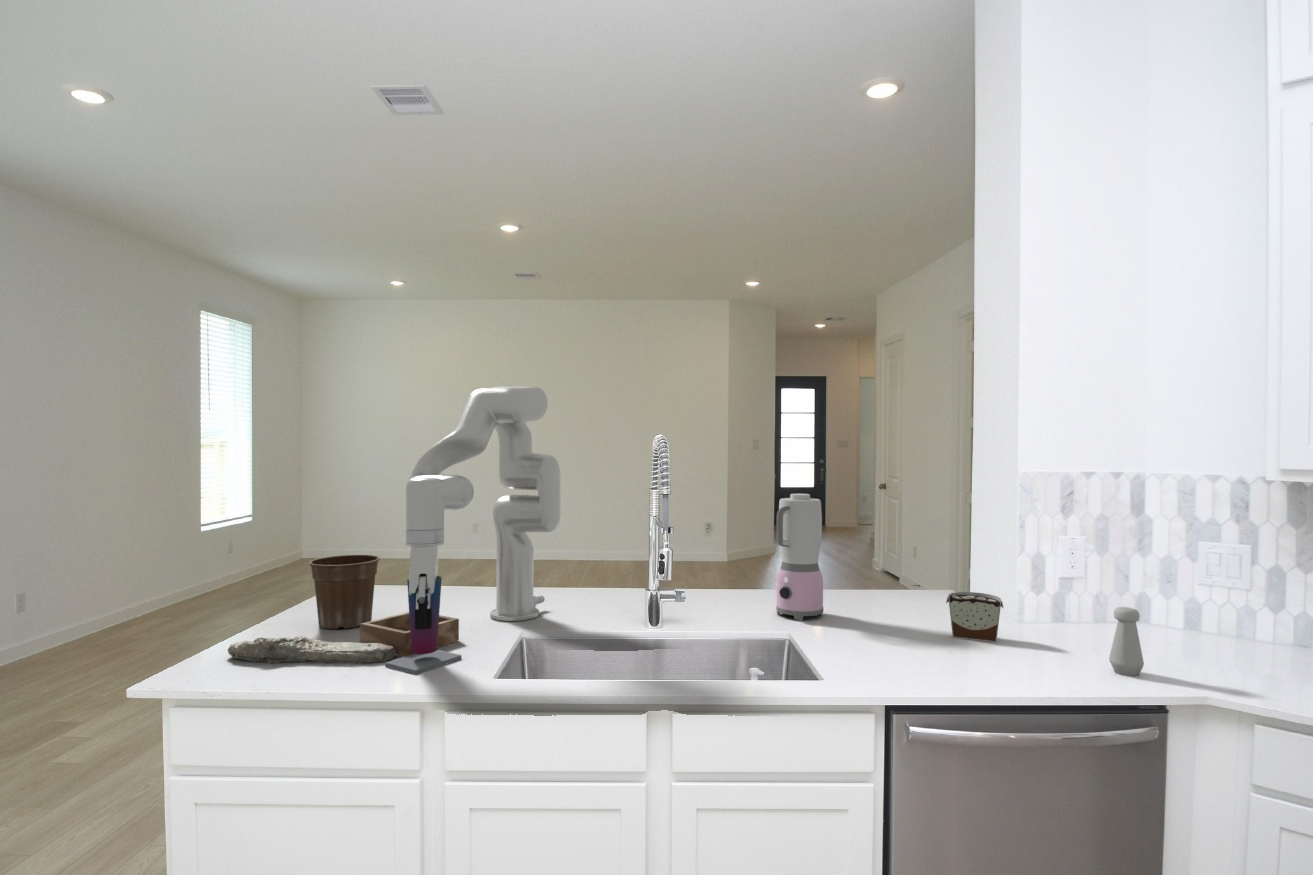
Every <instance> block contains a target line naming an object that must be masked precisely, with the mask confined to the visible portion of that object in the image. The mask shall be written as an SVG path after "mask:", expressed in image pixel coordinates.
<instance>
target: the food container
mask: <svg viewBox="0 0 1313 875" xmlns="http://www.w3.org/2000/svg"><path fill="white" fill-rule="evenodd" d="M945 604H948V606H949V607H948V608H949V614H950V615H949V616H950V625H951V634H952V638H953V637H954V639H962V638H963V640H972V641H979V642H980V641H981V642H990V643H997V640H998V633H999V632H998V631H999V622H1000V617H1001V616H1000V615H1001V608H1002V609H1005V608H1004V604H1003V600H1002V598H1001V597H1000V596H997V595H993V594H991V593H989V594H988V593H984V592H983V593H982V592H975V591H974V592H973V591H972V592H971V591H954V592H951V593H948V596H947V597H946V602H945Z"/></svg>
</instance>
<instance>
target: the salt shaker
mask: <svg viewBox="0 0 1313 875" xmlns="http://www.w3.org/2000/svg"><path fill="white" fill-rule="evenodd" d="M1113 617H1114V619H1115V620H1117V625H1116V627H1115V632H1114V637H1113V641H1112V645H1111V649H1110V654H1109V657H1108V659H1109V663H1110V664H1111V666H1112V668H1113V672H1114V673H1115V674H1118V675H1121V676H1124V677H1133V678H1134V677H1137V676H1139V675H1140V673H1141V671H1143V668H1144V665H1145V663H1144V658H1143V657H1144V656H1143V652H1142V647H1141V641H1140V637H1139V631H1138V627H1137V622H1139V620H1140V617H1141V616H1140V613H1139V611H1138V610H1137V609H1135V608H1133V607H1128V606H1127V607H1126V606H1119V607H1116V608H1114V610H1113Z"/></svg>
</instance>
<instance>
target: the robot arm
mask: <svg viewBox="0 0 1313 875" xmlns="http://www.w3.org/2000/svg"><path fill="white" fill-rule="evenodd" d="M548 403H549V402H548V396H547V394H546V393H545V391H544V390H543V389H542V388H541V387H539V386H535V385H534V386H533V385H532V386H528V385H527V386H495V387H481V388H478V389H475V390H473V391H472V392H470V394H469V395H468V397H467V398H466V401H465V403H464V404H463V407H462V409H461V411H460V414H459V415H458V417H457V420H456V422H455V424H454V426H453V428H452V431H451V432H450V434H448V435H447V436H445V437H444V438H442V439H441V440H439V441H438V442H436V443H435V444H434V445H432V446H431V447H430V448H429V449H427V450H426V451H425V452H424V453H423V454H422V455H421V456H420V457H419V458H418V460H417V462H416V463H415V465H414V467H413V469H412V471H411V473H410V475H409V478H408V480H407V481H406V486H405V487H406V488H405V546H407V547H410V552H409V553H410V555H409V575H408V576H409V577H408V578H409V594H410V595H413V594H412V593H415V591H416V609H415V629H430V628H431V627H432V608H430V602H431V594H433V593H434V589H435V581H436V580H437V576H438V571H439V570H438V569H439V568H438V567H439V563H438V562H439V559H438V558H439V546H442V545H444V544H445V541H444V540H445V510H447V511H451V510H452V511H457V510H461V509H464V508H466V507H467V506H469V505H470V503H471V502H472V500H473V498H474V492H475V491H474V486H473V483H472V482H471V481H470V479H468V478H467V477H466V476H464V475H459V474H441V473H443V472H444V471H445V470H447V469H448V468H450V467H452V466H454V465H457V464H459V463H463V462H465V461H468V460H470V459H473V458H475V457H477V456H479V455H481V454H482V453H484V451H485V450H486V448H487V447H488V444H489V441H490V439H491V437H492V435H493V432H494V430H496V433H497V436H498V437H497V438H498V474H499V475H498V478H499V482H500V484H501V486H502V487H503V488H505V489H509V490H522V491H524V490H526V491H537V493H538V495H535V494H534V495H533V494H532V495H531V494H506V495H502V496H500V497H499V498H498V499H496V501H495V502H494V504H493V508H492V518H493V524H494V529H495V540H496V596H495V598H496V600H495V601H496V604H495V607H496V608H495V609H493V610H492V609H491V611H490V613H489V616H490V618H491V619H493V620H496V621H501V620H502V622H503V621H505V622H518V621H520V622H521V621H526V620H532V619H535V618H537V617H539V615H540V610H539V608H537V607H536V606H537V605H538V604H542V603H544V602H545V600H546V599H545V597H544V595H542V594H541V595H538V596H536V595H534V572H535V571H534V562H535V561H534V560H535V559H534V558H535V556H534V549H535V548H534V544H533V542H532V540H531V539H530V536H529V535H528V533H553V531H555V530H556V529H557V528H558V526H559V524H560V520H561V518H560V517H561V470H560V469H561V468H560V465H559V462H558V460H557V458H556V457H555V456H554V455H552V454H550V453H549V454H548V453H533V452H534V451H533V444H532V442H533V439H532V432H531V430H530V428H529V426H528V425H527V423H529V422H534V421H539V420H541V419H542V418H543V417H544V416H545V415H546V413H547V409H548V406H549V405H548ZM426 578H427V584H426ZM418 585H419V593H418V587H417V586H418ZM428 587H429V593H426V589H428ZM425 597H428V599H427V598H425ZM427 600H428V601H427Z"/></svg>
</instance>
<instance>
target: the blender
mask: <svg viewBox="0 0 1313 875" xmlns="http://www.w3.org/2000/svg"><path fill="white" fill-rule="evenodd" d="M778 503H779V504H778V510H777V512H776V544H778V546H779V551H780V555H781V565H780V567H779V570H778V572H777V574H776V575H777V576H776V615H777V616H778V615H780V616H781V614H783V615H787V616H788V615H789V616H793V618H794V619H796V620H795V621H798V620H802V621H803V620H804V617H813V616H818V615H819V614H820V615H819V616H823V613H824V578H823V574H822V571H821V570H820V566H819V556H820V554H821V553H820V552H821V551H820V550H821V545H822V537H823V524H822V523H823V516H822V515H823V513H822V501H821V499H819V498H811V494H809V493H790V495H789V497H784V498H780V499H779V502H778Z"/></svg>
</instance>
